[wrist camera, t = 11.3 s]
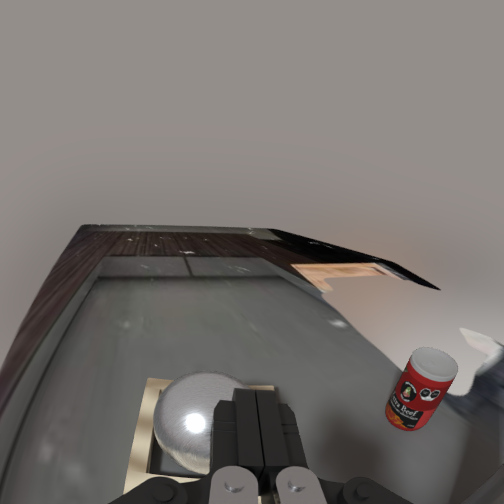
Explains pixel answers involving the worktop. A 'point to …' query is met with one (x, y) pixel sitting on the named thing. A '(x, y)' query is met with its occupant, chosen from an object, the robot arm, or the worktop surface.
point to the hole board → (152, 436)
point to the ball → (191, 416)
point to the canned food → (421, 388)
